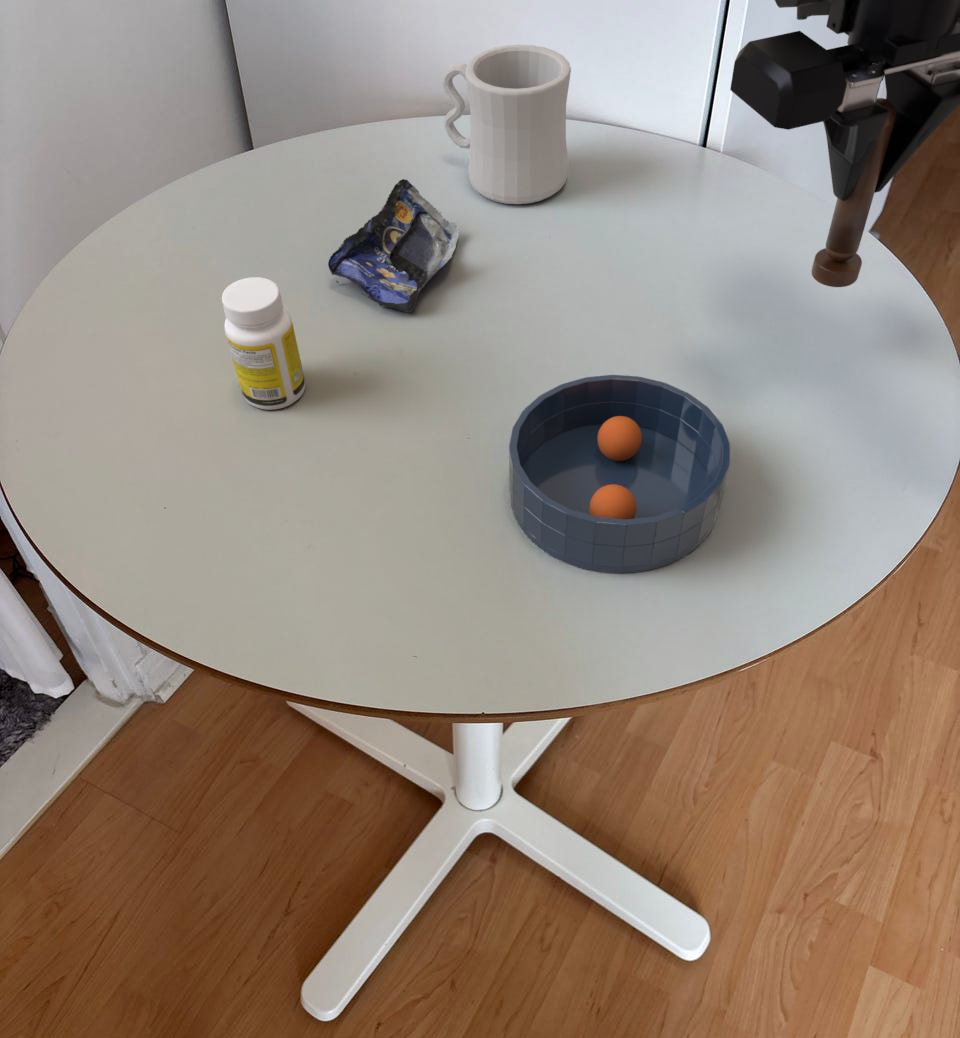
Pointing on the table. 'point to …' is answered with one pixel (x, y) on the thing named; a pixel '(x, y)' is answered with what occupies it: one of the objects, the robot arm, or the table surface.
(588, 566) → the bowl
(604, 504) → the ball
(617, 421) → the ball
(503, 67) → the mug
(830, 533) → the table surface
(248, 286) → the supplement bottle
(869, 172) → the wooden pestle
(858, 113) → the robot arm
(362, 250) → the snack package
